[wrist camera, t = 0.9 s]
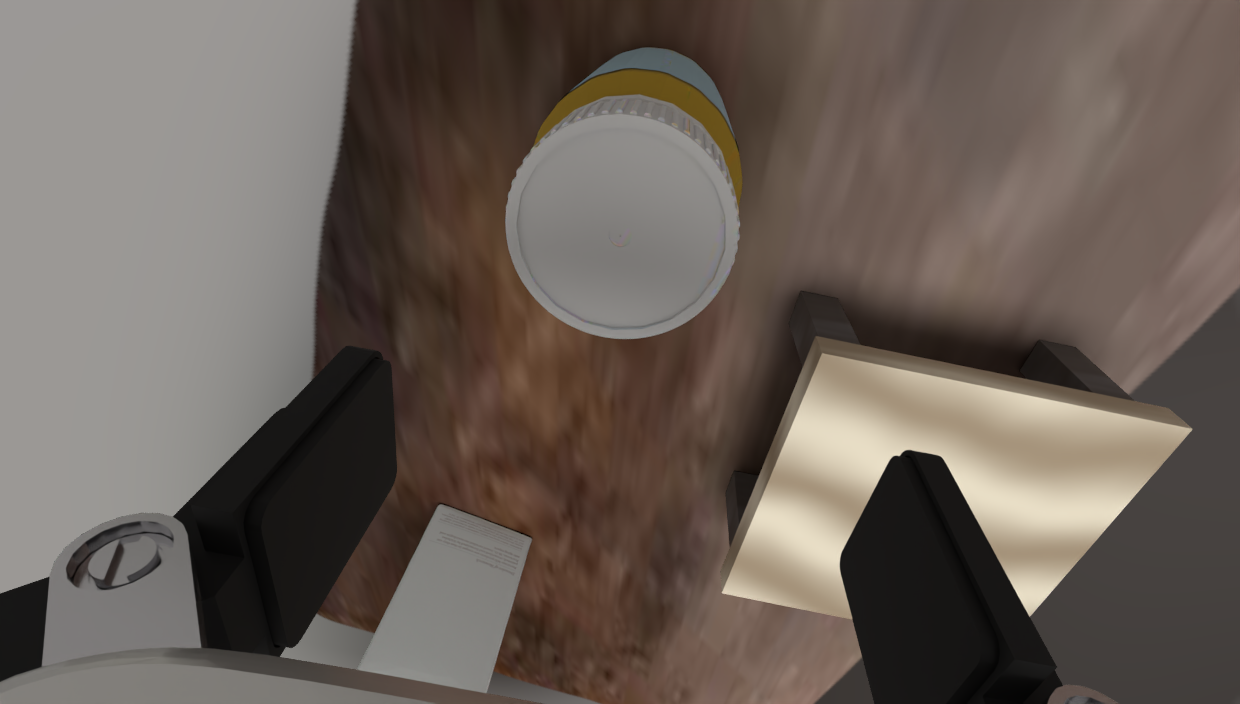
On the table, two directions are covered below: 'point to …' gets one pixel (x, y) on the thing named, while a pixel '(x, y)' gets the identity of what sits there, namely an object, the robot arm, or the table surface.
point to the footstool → (948, 427)
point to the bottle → (629, 198)
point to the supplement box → (451, 604)
